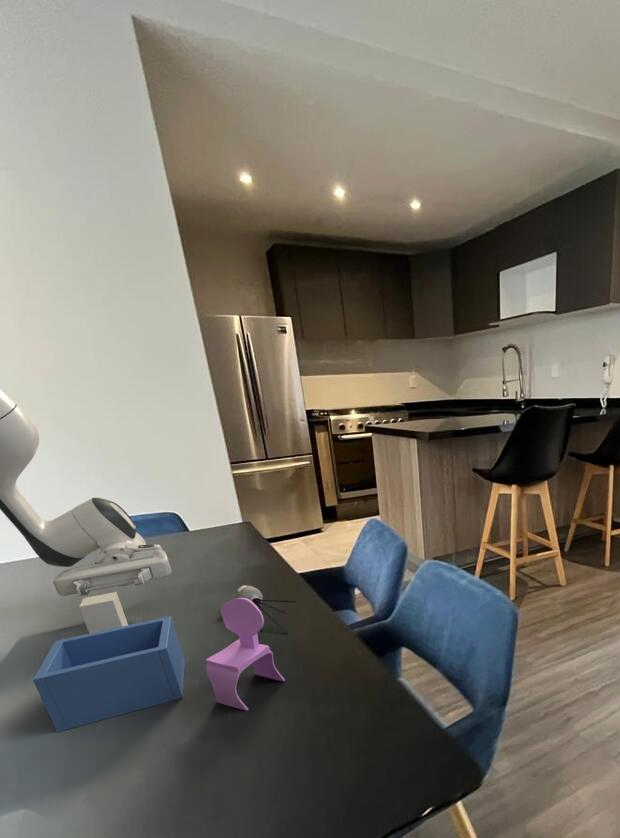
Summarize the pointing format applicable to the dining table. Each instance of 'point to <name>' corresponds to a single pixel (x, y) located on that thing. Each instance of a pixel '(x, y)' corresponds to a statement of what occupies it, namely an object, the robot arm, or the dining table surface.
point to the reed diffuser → (257, 599)
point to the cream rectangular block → (102, 612)
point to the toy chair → (240, 652)
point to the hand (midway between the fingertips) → (110, 586)
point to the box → (111, 673)
